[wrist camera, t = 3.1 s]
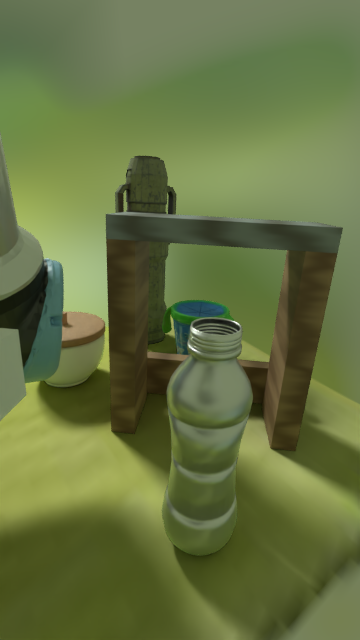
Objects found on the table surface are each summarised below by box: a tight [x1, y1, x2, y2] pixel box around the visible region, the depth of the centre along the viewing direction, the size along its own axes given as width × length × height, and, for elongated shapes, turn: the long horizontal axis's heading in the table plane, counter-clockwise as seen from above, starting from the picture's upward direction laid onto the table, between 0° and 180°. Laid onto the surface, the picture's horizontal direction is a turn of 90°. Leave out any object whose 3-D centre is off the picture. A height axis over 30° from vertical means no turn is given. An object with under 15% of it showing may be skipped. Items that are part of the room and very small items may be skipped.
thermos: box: [115, 156, 176, 344], centre depth 65 cm, size 9×12×35 cm
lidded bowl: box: [44, 312, 105, 387], centre depth 52 cm, size 13×13×11 cm
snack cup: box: [162, 300, 234, 355], centre depth 61 cm, size 16×10×10 cm
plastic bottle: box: [162, 317, 253, 556], centre depth 26 cm, size 6×7×20 cm
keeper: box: [106, 212, 343, 451], centre depth 42 cm, size 23×12×26 cm, turn 84°
